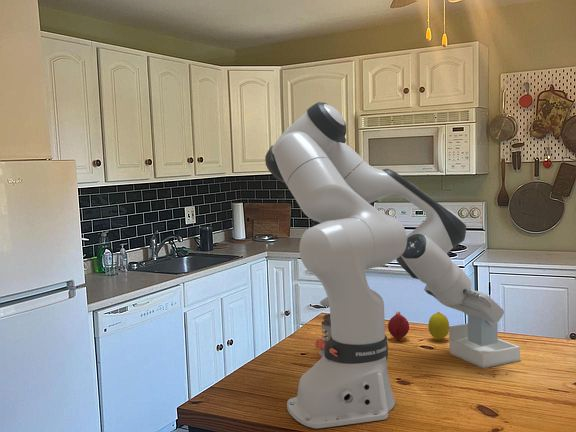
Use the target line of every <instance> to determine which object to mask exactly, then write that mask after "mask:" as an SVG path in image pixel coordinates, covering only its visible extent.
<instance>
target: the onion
mask: <svg viewBox="0 0 576 432" xmlns="http://www.w3.org/2000/svg"><path fill="white" fill-rule="evenodd" d="M387 331H388V332H389V334H390V335H391V336H392V337H393V338H394V339H396V340H397V341H400V340H402V339H404V337H405V336H407V334H408V332H409V331H410V323H409V321H408V319H407V318H406V317H405V316H404V315H402V314H401V311H399V310H398V311H396V313H395V314H394V315H393V316H392V317H390V319H389V321H388V323H387Z"/></svg>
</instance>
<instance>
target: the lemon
mask: <svg viewBox="0 0 576 432" xmlns="http://www.w3.org/2000/svg"><path fill="white" fill-rule="evenodd" d="M427 327H428V331H429V334H430V336H432V337H433V338H435V339H436V340H437V341H441V340H442V339H444V338H446V337H447V336H448V335H449V327H450V323H449V319H448V317H447V316H446V315H445V314H443V313H441V312H440V311H437V312H436V313H434V314H432V315H431V316H430V318H429V320H428V325H427Z"/></svg>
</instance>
